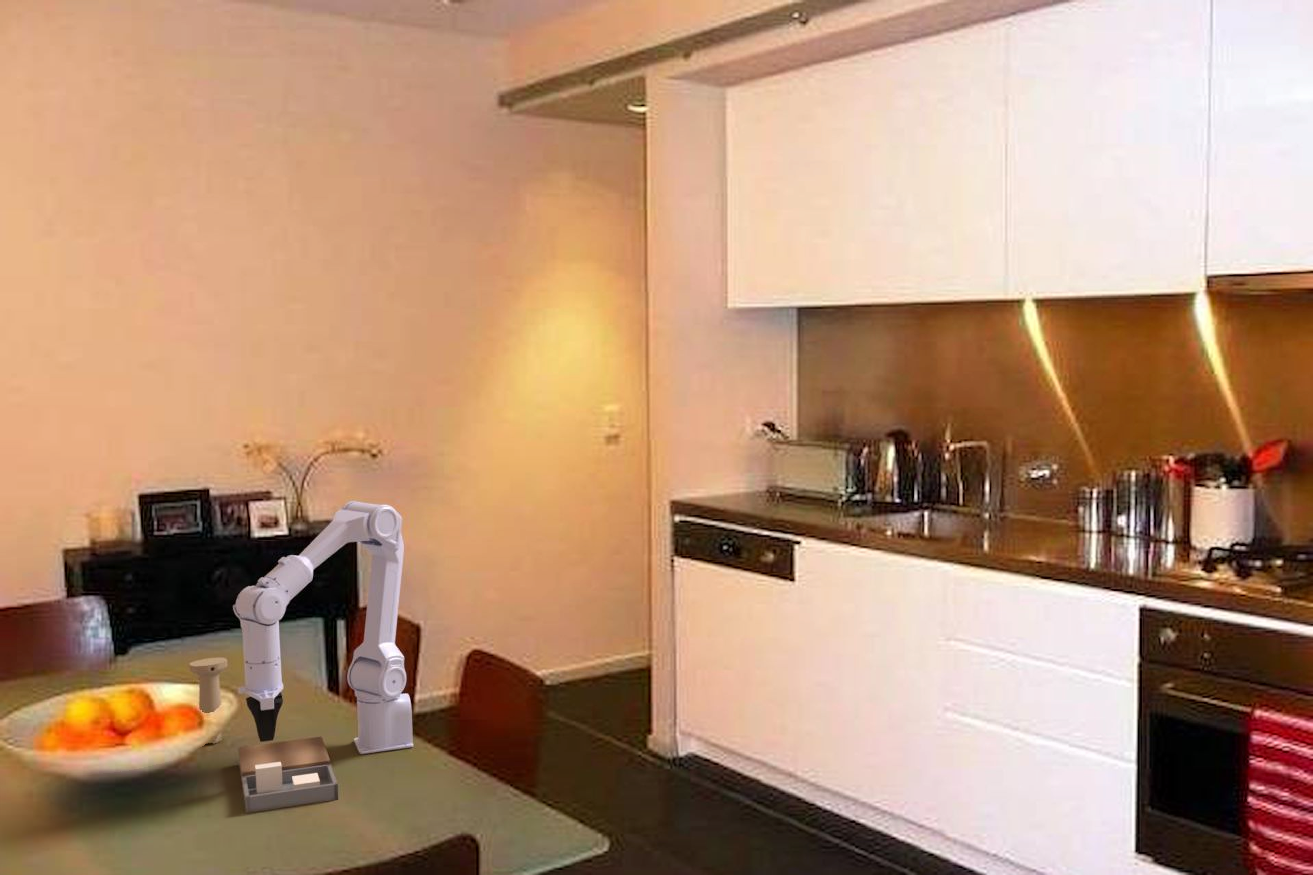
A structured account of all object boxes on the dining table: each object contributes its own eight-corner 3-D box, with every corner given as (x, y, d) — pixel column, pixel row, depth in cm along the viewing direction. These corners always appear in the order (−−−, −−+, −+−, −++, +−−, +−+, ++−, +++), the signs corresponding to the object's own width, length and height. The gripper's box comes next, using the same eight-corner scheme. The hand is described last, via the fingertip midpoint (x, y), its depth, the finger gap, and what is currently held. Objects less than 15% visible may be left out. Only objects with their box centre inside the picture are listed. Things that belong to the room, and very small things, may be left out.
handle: (234, 741, 224) (230, 661, 222) (198, 749, 220) (194, 667, 218) (225, 734, 228) (221, 655, 226) (190, 742, 224) (186, 662, 222)
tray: (331, 778, 205) (330, 763, 205) (338, 799, 196) (337, 784, 196) (242, 790, 200) (242, 776, 200) (246, 812, 191) (245, 797, 191)
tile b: (280, 761, 200) (281, 765, 199) (281, 785, 201) (282, 789, 199) (254, 765, 199) (255, 769, 197) (256, 788, 199) (256, 793, 197)
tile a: (319, 780, 197) (320, 793, 197) (317, 772, 201) (317, 784, 201) (294, 784, 196) (294, 796, 196) (291, 776, 199) (292, 788, 199)
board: (322, 752, 217) (321, 736, 217) (330, 777, 205) (330, 760, 205) (238, 764, 212) (238, 747, 212) (242, 790, 200) (241, 772, 200)
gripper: (234, 651, 206) (238, 729, 207) (238, 673, 192) (243, 757, 194) (278, 646, 208) (282, 723, 210) (285, 668, 195) (289, 751, 196)
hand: (266, 739), depth 202 cm, fingers closed
